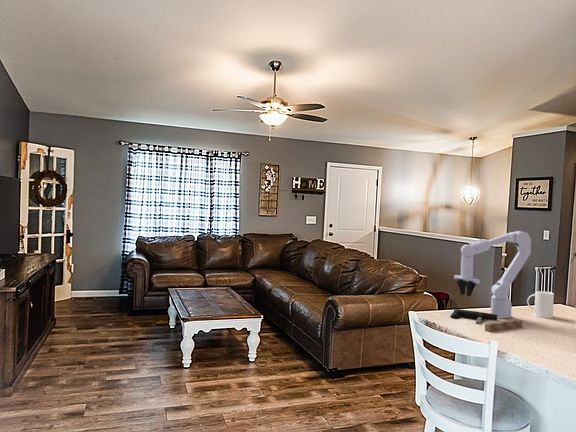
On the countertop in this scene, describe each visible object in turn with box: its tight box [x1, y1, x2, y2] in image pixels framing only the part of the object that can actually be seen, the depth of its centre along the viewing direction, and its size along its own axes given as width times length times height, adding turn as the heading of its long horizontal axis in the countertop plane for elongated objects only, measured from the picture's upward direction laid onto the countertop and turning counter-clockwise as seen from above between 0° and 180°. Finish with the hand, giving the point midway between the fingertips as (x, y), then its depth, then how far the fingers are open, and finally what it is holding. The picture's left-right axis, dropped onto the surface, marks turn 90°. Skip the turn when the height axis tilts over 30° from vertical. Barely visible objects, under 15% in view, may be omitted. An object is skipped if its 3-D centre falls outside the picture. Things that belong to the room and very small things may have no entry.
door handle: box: [449, 308, 498, 325], centre depth 214 cm, size 3×20×16 cm
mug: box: [526, 290, 555, 319], centre depth 225 cm, size 12×8×12 cm
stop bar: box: [484, 318, 523, 333], centre depth 198 cm, size 22×2×3 cm, turn 116°
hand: (465, 295), depth 224 cm, fingers open, 3 cm apart
